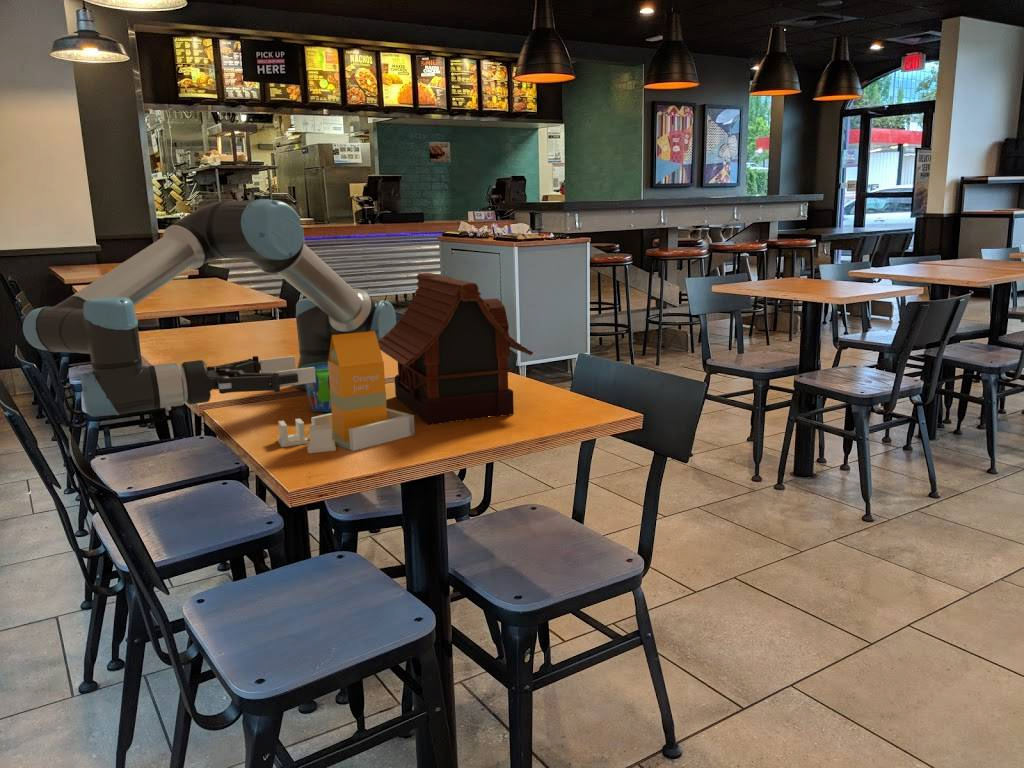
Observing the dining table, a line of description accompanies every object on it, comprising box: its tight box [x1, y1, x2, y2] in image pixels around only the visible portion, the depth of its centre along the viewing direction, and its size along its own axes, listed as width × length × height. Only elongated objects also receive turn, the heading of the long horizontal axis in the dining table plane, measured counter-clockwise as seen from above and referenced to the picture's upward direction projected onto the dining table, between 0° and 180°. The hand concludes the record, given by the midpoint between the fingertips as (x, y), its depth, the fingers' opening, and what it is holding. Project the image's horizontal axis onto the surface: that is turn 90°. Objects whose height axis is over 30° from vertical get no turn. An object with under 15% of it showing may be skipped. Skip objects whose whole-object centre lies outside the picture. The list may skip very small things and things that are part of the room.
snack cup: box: [301, 362, 332, 413], centre depth 175 cm, size 16×10×10 cm
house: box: [378, 272, 534, 426], centre depth 175 cm, size 35×28×29 cm
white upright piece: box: [307, 424, 337, 454], centre depth 145 cm, size 5×5×4 cm
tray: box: [310, 407, 416, 452], centre depth 153 cm, size 14×14×4 cm
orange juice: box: [328, 331, 388, 442], centre depth 151 cm, size 8×9×20 cm
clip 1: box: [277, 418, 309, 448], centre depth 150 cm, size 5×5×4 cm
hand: (304, 368), depth 146 cm, fingers open, 13 cm apart
